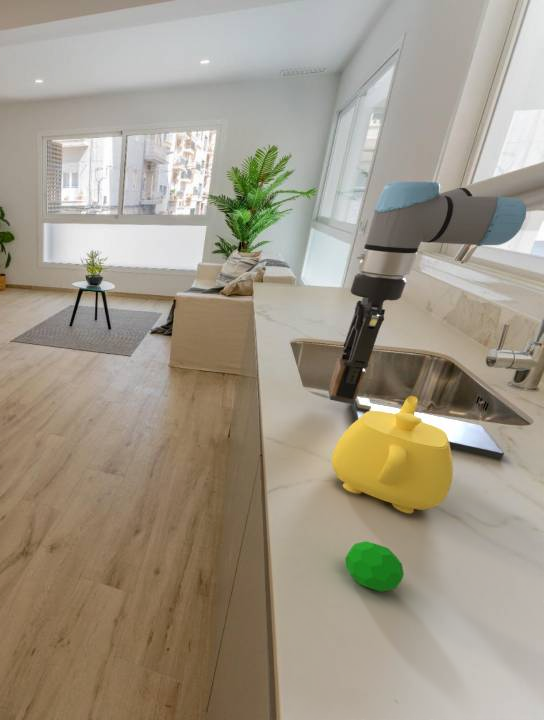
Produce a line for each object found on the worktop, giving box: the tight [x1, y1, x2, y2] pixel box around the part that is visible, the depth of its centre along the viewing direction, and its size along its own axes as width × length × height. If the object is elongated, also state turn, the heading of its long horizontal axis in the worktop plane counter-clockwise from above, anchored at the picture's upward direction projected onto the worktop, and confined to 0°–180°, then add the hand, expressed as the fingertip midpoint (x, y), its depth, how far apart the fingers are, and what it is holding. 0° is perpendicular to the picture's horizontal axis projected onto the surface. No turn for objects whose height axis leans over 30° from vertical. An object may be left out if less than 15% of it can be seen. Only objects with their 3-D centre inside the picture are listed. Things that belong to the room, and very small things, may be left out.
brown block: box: [327, 357, 366, 405], centre depth 84 cm, size 4×6×7 cm, turn 150°
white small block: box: [419, 417, 438, 427], centre depth 78 cm, size 2×4×1 cm, turn 151°
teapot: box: [331, 395, 454, 514], centre depth 61 cm, size 13×20×12 cm
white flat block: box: [356, 396, 371, 410], centre depth 86 cm, size 2×4×1 cm, turn 151°
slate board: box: [350, 400, 504, 461], centre depth 80 cm, size 20×11×2 cm, turn 61°
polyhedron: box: [344, 540, 405, 592], centre depth 47 cm, size 5×5×5 cm
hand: (342, 390), depth 85 cm, fingers closed on brown block, 6 cm apart
